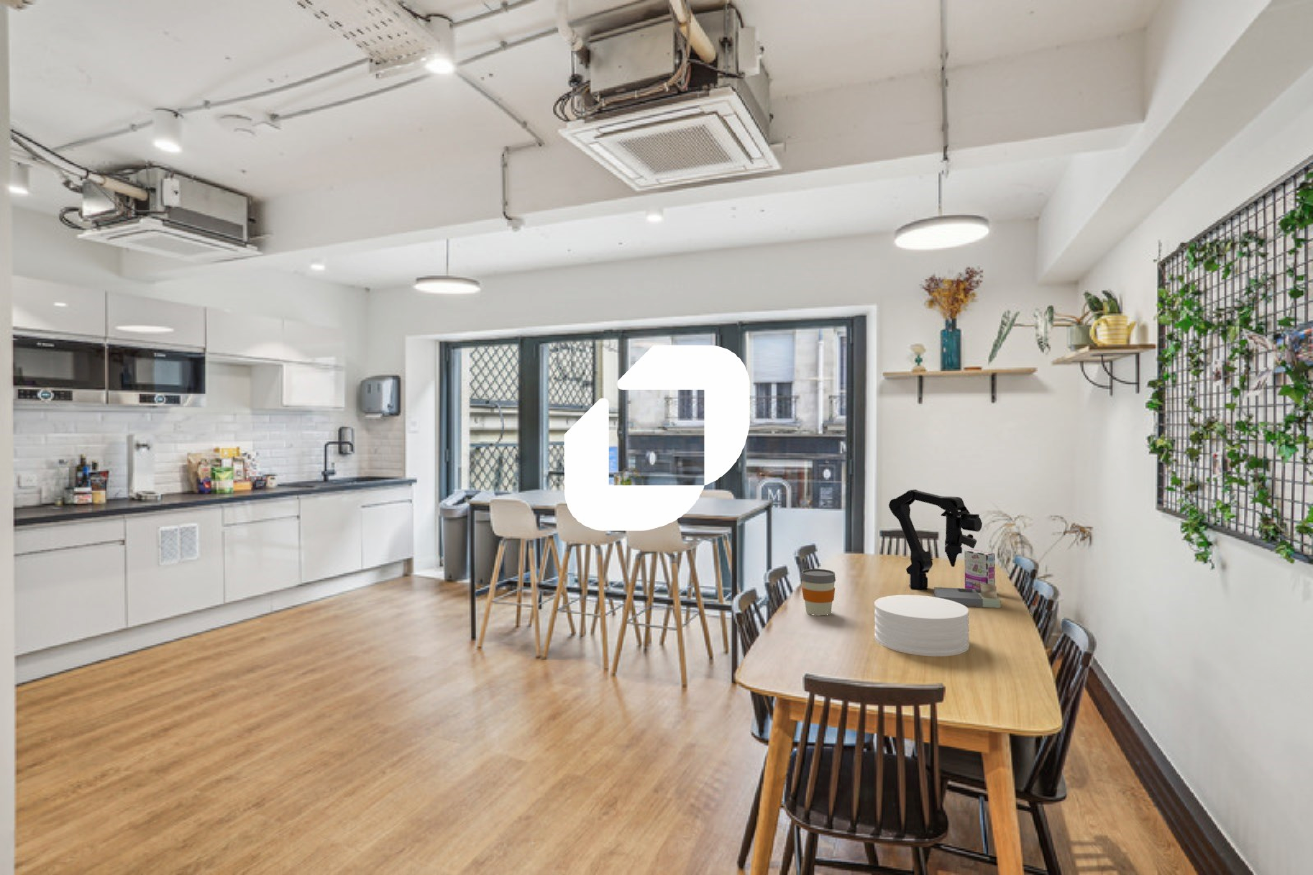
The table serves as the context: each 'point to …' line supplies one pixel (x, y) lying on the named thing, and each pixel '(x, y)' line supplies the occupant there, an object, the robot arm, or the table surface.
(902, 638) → the plate stack
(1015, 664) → the table surface
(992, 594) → the maple block
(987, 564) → the candy bar box
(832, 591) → the reusable coffee cup
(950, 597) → the trap deck
